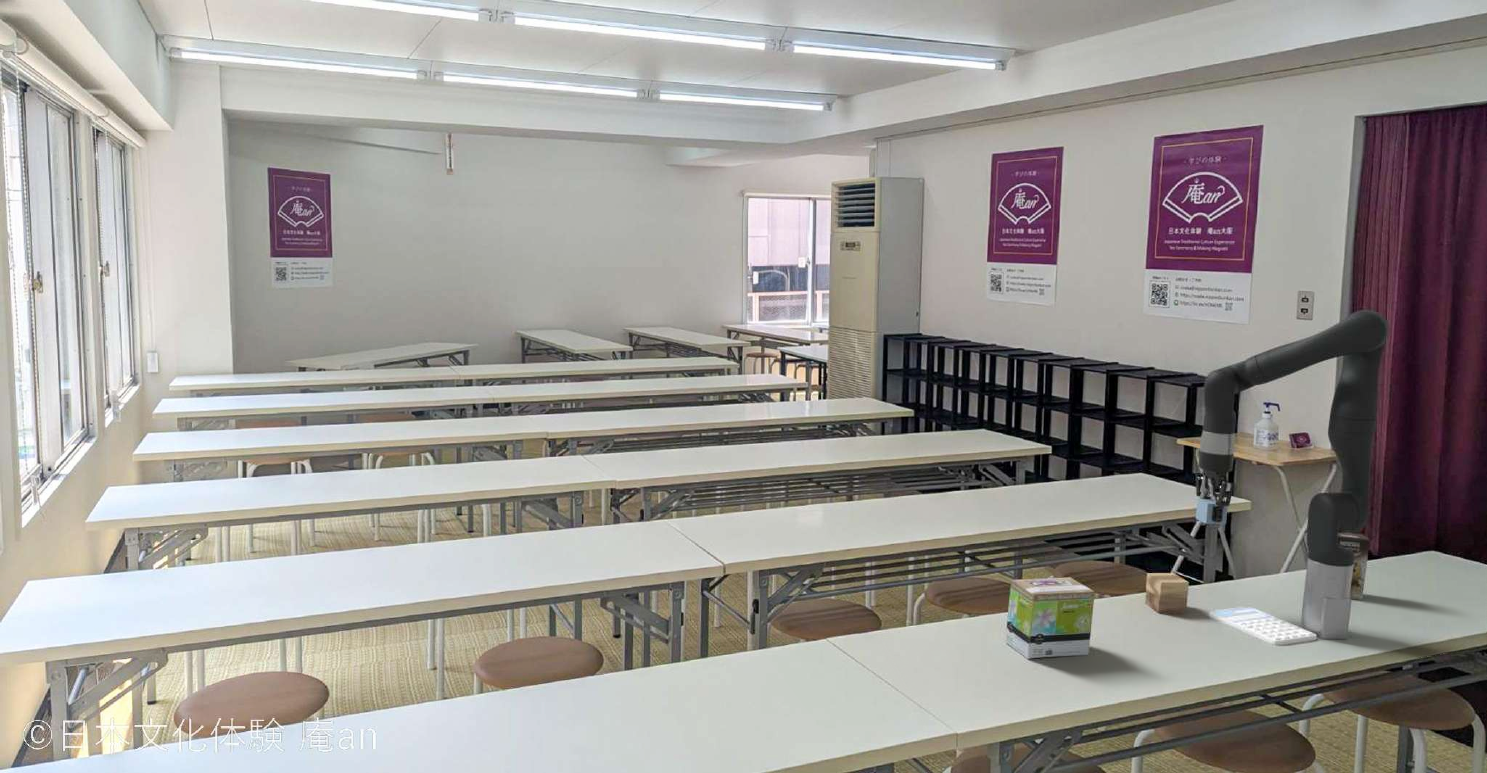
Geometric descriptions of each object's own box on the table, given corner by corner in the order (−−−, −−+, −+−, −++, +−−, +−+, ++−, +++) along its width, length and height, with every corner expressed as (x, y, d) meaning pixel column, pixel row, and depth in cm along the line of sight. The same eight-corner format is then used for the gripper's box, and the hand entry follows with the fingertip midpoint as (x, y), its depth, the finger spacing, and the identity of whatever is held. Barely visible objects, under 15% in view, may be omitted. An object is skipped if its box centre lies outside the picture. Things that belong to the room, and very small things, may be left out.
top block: (1187, 598, 250) (1188, 582, 250) (1159, 598, 250) (1161, 582, 249) (1172, 588, 257) (1174, 573, 257) (1145, 588, 257) (1147, 573, 256)
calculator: (1275, 648, 232) (1276, 639, 231) (1206, 617, 250) (1207, 609, 250) (1318, 641, 236) (1319, 633, 236) (1247, 611, 255) (1248, 604, 255)
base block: (1185, 614, 251) (1187, 598, 250) (1157, 614, 250) (1159, 598, 250) (1172, 604, 258) (1173, 588, 257) (1145, 604, 257) (1146, 588, 257)
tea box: (1028, 660, 218) (1033, 593, 216) (1004, 643, 228) (1009, 578, 226) (1090, 655, 222) (1096, 589, 220) (1064, 638, 232) (1069, 574, 230)
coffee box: (1323, 595, 267) (1330, 535, 265) (1317, 588, 274) (1324, 529, 271) (1363, 600, 265) (1370, 539, 263) (1356, 592, 271) (1363, 533, 269)
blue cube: (1225, 524, 250) (1227, 503, 249) (1206, 523, 249) (1207, 503, 249) (1215, 518, 255) (1217, 499, 254) (1195, 518, 254) (1197, 498, 254)
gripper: (1248, 456, 243) (1241, 526, 245) (1216, 445, 257) (1210, 511, 259) (1217, 455, 243) (1211, 526, 245) (1187, 444, 257) (1181, 511, 259)
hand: (1210, 518), depth 252 cm, fingers closed on blue cube, 5 cm apart
